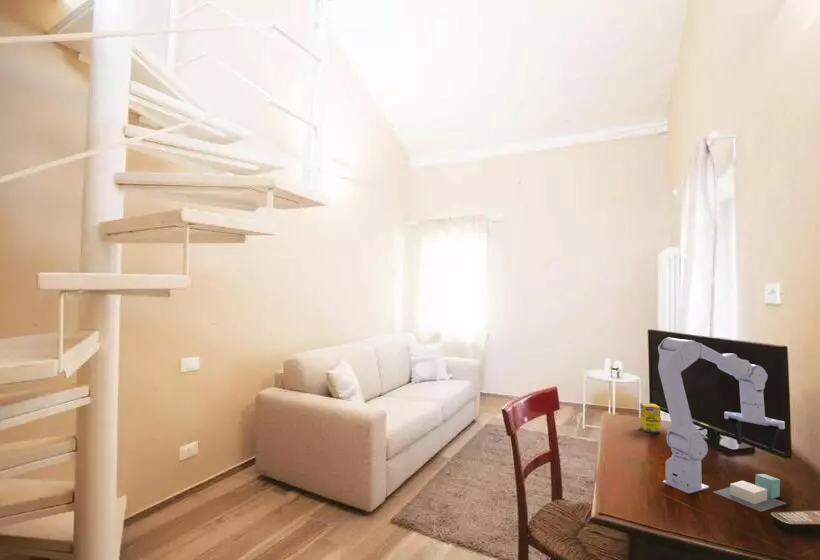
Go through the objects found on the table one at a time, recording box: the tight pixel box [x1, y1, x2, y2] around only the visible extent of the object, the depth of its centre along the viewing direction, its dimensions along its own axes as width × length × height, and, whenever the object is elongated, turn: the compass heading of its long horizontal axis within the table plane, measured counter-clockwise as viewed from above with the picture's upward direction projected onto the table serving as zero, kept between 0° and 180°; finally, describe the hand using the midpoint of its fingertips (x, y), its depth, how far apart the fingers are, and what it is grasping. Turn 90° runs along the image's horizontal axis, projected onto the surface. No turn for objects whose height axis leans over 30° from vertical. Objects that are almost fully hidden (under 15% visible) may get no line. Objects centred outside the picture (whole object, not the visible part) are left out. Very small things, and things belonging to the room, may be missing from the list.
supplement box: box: [639, 402, 661, 434], centre depth 176 cm, size 6×6×11 cm
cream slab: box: [729, 480, 767, 504], centre depth 117 cm, size 6×6×3 cm
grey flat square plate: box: [713, 486, 787, 513], centre depth 117 cm, size 12×12×1 cm
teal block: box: [754, 473, 781, 499], centre depth 119 cm, size 4×4×5 cm
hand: (755, 446), depth 128 cm, fingers open, 7 cm apart
